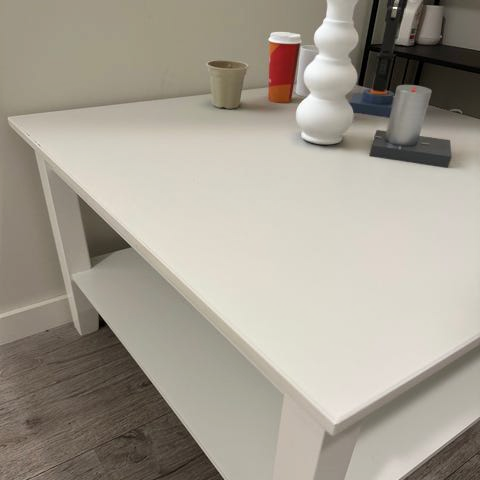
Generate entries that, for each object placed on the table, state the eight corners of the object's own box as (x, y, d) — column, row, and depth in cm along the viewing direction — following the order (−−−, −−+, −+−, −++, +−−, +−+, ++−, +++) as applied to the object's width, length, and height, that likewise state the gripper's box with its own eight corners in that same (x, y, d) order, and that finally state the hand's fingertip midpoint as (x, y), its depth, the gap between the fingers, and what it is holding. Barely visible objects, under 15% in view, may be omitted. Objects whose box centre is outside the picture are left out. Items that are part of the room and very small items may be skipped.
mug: (295, 97, 120) (301, 49, 114) (295, 89, 126) (300, 44, 120) (344, 100, 120) (352, 53, 113) (341, 92, 126) (348, 47, 120)
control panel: (447, 150, 93) (450, 138, 92) (448, 167, 85) (452, 155, 84) (374, 139, 96) (376, 128, 95) (368, 156, 88) (371, 144, 87)
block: (401, 108, 116) (406, 90, 114) (399, 119, 109) (404, 100, 106) (352, 102, 119) (355, 84, 116) (347, 112, 111) (350, 93, 109)
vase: (292, 129, 99) (308, -18, 83) (345, 133, 99) (371, -14, 83) (294, 147, 90) (312, -14, 75) (352, 151, 90) (382, -10, 75)
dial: (386, 133, 93) (398, 81, 87) (418, 138, 92) (432, 85, 86) (383, 143, 88) (396, 88, 83) (417, 147, 87) (432, 92, 81)
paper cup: (278, 94, 122) (284, 30, 113) (301, 101, 117) (309, 35, 109) (257, 98, 117) (261, 32, 108) (280, 106, 113) (286, 38, 104)
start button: (386, 98, 113) (388, 90, 112) (385, 102, 110) (387, 93, 109) (369, 96, 114) (371, 88, 113) (367, 99, 111) (369, 91, 110)
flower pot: (253, 105, 113) (256, 64, 107) (232, 113, 106) (234, 70, 101) (220, 98, 116) (221, 58, 111) (198, 106, 110) (197, 64, 104)
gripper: (424, -35, 91) (393, 98, 105) (425, -36, 101) (397, 85, 115) (384, -38, 92) (359, 94, 107) (389, -39, 102) (365, 82, 117)
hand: (378, 89), depth 111 cm, fingers closed
